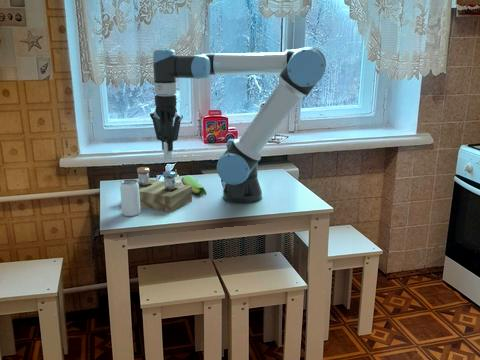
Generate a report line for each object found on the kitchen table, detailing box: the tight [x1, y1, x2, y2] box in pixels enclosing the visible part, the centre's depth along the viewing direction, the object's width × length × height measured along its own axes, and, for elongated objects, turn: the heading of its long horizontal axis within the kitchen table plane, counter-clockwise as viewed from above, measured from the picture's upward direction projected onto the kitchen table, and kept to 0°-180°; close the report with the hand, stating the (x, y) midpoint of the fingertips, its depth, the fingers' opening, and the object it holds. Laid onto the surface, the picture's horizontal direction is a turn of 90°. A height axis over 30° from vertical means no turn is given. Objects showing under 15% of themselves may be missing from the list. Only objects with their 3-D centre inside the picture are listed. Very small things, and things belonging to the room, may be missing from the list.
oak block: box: [137, 178, 193, 213], centre depth 192 cm, size 22×14×6 cm, turn 62°
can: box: [119, 178, 141, 217], centre depth 180 cm, size 6×6×12 cm
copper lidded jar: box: [136, 166, 151, 188], centre depth 194 cm, size 5×5×8 cm
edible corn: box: [181, 175, 207, 197], centre depth 206 cm, size 5×20×5 cm
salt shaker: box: [162, 170, 177, 192], centre depth 188 cm, size 5×5×8 cm
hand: (167, 159), depth 186 cm, fingers closed
